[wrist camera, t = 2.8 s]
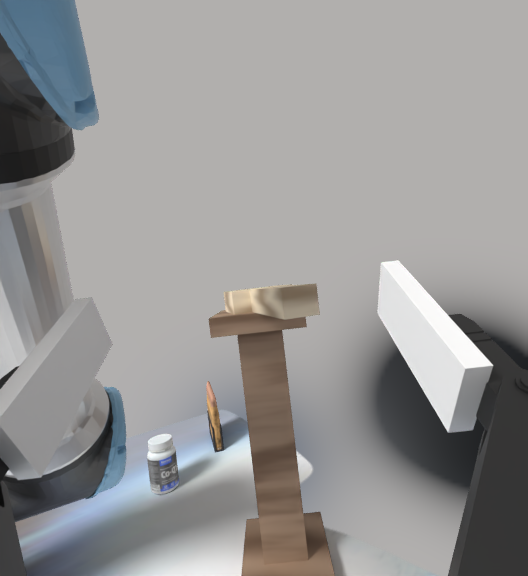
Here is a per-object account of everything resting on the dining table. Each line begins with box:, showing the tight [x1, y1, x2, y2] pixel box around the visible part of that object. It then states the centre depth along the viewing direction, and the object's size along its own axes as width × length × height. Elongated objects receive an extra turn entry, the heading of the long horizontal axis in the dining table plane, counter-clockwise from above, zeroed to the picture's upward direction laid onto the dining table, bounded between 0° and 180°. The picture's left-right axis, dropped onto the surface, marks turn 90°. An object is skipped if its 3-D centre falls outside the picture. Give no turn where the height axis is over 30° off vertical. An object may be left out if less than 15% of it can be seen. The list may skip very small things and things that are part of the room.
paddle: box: [224, 284, 320, 320], centre depth 35 cm, size 17×7×2 cm, turn 16°
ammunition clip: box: [207, 381, 224, 452], centre depth 73 cm, size 11×2×12 cm, turn 15°
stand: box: [209, 310, 335, 576], centre depth 40 cm, size 10×10×30 cm
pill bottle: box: [147, 434, 179, 494], centre depth 58 cm, size 5×5×8 cm
